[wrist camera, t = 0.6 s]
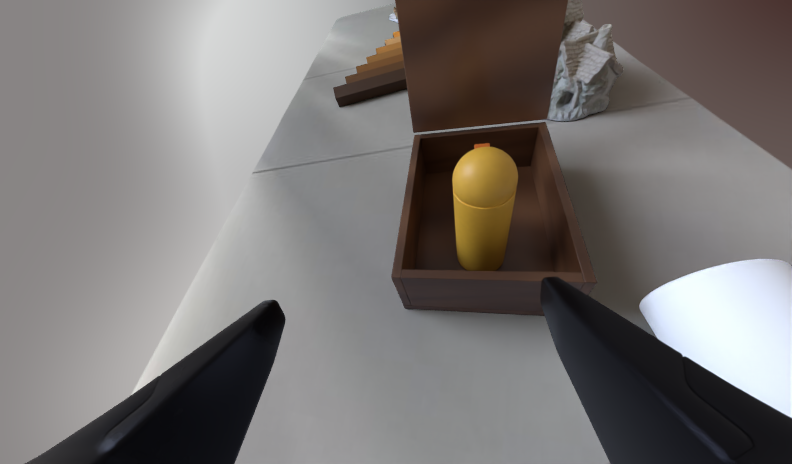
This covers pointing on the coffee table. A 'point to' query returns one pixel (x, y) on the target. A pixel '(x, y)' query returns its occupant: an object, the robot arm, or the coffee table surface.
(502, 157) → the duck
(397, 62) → the pan flute
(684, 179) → the coffee table surface
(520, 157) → the chest
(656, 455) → the robot arm
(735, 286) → the mug
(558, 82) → the ceramic cottage
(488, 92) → the chest lid
